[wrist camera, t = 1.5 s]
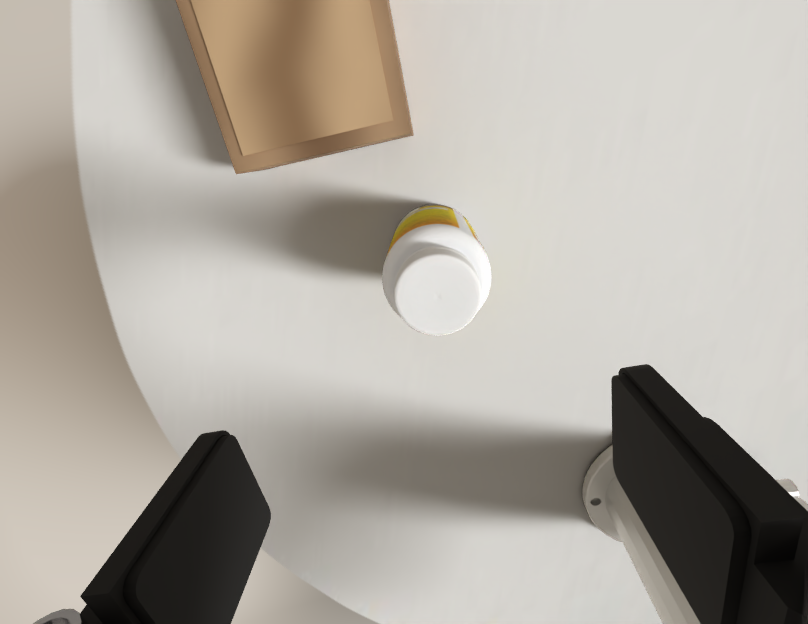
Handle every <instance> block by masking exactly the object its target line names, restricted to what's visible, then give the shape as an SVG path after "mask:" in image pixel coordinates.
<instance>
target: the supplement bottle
mask: <svg viewBox="0 0 808 624" xmlns="http://www.w3.org/2000/svg"><path fill="white" fill-rule="evenodd" d="M382 283H383V289H384V293H385V296H386V298H387V300H388V302H389V304H390V306H391V307H392V308H393V310H394V311H395V312H396V313H397V314H398V315H399V316H400V317H401V318H402V319H403V320H404V321H405V323H407V324H408V325H409V326H410V327H411V328H413V329H414V330H416V331H418V332H421V333H423V334H427V335H434V336H441V335H447V334H451V333H454V332H456V331H458V330H460V329H462V328H463V327H465V326H466V325H467V324H468V323H469V322H470V321H471V320H472V319H473V318H474V316H475V315H476V313H477V312H478V311H479V309H480V308H481V307H482V305H483V304H484V302H485V300H486V299H487V297H488V294H489V290H490V286H491V266H490V262H489V259H488V256H487V254H486V252H485V250H484V248H483V246H482V244H481V243H480V241H479V239H478V237H477V235H476V234H475V232H474V230H473V228H472V227H471V225H470V223H469V222H468V221H467V219H466V218H465V217H464V216H463V215H462V214H461V213H459V212H458V211H456V210H455V209H453V208H450V207H448V206H444V205H438V204H432V205H425V206H421V207H419V208H416V209H414V210H413V211H411V212H410V213H408V214H407V215H406V216H405V217H404V218H403V219H402V220H401V222H400V223H399V225H398V226H397V228H396V230H395V233H394V236H393V239H392V242H391V244H390V247H389V250H388V253H387V256H386V259H385V262H384V267H383V274H382Z"/></svg>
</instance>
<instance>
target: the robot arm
mask: <svg viewBox="0 0 808 624" xmlns="http://www.w3.org/2000/svg"><path fill="white" fill-rule="evenodd" d="M612 442H613V445H611V446H610V447H608V448H607V449H606V450H605V451H604V452H603V453H601V454H600V455H599V456H598V457H597V459H596V460H595V461H594V462H593V464H592V465H591V466H590V468H589V470H588V472H587V474H586V476H585V479H584V483H583V487H582V497H583V501H584V505H585V508H586V510H587V512H588V514H589V516H590V519H591V520H592V521H593V523H594V524H595V525H596V527H597V528H598V529H600V530H601V531H602V532H603V533H604V534H606V535H607V536H609V537H611V538H613V539H615V540H617V541H620V542H623V544H624V546H625V548H626V550H627V552H628V554H629V556H630V558H631V560H632V562H633V564H634V566H635V568H636V570H637V572H638V574H639V576H640V578H641V580H642V582H643V584H644V586H645V589H646V591H647V593H648V595H649V597H650V599H651V601H652V603H653V605H654V607H655V609H656V611H657V613H658V615H659V617H660V619H661V621H662V623H663V624H808V504H807V503H806V502H805V501H804V500H802V499H801V498H798V497H799V491H798V489H797V486H796V485H795V484H794V483H793V481H791V480H789V479H780V480H775V479H774V478H773V477H772V476H771V475H770V474H769V473H768V472H767V471H766V470H764V469H763V468H762V467H761V466H760V465H759V464H758V463H757V462H756V461H755V460H754V459H753V458H752V457H751V456H750V455H749V454H748V453H747V452H746V451H745V450H744V449H743V448H742V447H741V446H740V445H739V444H737V443H736V442H735V441H734V440H733V439H732V438H731V437H730V436H729V435H728V434H727V433H726V432H725V431H724V430H723V429H722V428H721V427H720V426H719V425H718V424H717V423H715V422H714V421H713V420H711V419H709V418H706V417H702V416H701V415H700V414H699V413H698V412H697V411H696V410H695V409H694V408H693V407H692V406H691V405H690V404H689V403H688V402H687V401H686V400H685V399H684V398H683V397H682V396H681V395H680V394H679V393H678V392H677V391H676V390H675V389H674V388H673V387H672V386H671V385H670V384H669V383H668V382H667V381H666V380H665V379H664V378H663V377H662V376H661V375H660V374H659V373H658V372H657V371H656V370H655V369H654V368H653V367H651V366H650V365H647V364H645V365H639V366H632V367H626V368H621V369H620V371H619V375H616V376H613V377H612ZM270 519H271V513H270V509H269V506H268V504H267V502H266V500H265V498H264V496H263V493H262V491H261V489H260V487H259V485H258V483H257V481H256V479H255V477H254V475H253V472H252V470H251V468H250V466H249V464H248V462H247V460H246V458H245V456H244V454H243V451H242V449H241V447H240V445H239V443H238V441H237V439H236V437H235V436H233V435H230V434H229V433H228V432H227V431H216V432H210V433H204V434H201V435H200V436H199V437H198V438H197V440H196V441H195V442H194V444H193V445H192V446H191V448H190V449H189V450H188V452H187V453H186V454H185V456H184V457H183V458H182V460H181V461H180V463H179V464H178V465H177V467H176V468H175V469H174V471H173V472H172V473H171V475H170V476H169V477H168V479H167V480H166V481H165V483H164V484H163V486H162V487H161V488H160V489H159V491H158V492H157V494H156V495H155V496H154V498H153V499H152V500H151V502H150V503H149V504H148V506H147V507H146V509H145V510H144V511H143V513H142V514H141V515H140V516H139V518H138V519H137V521H136V522H135V523H134V525H133V526H132V528H131V529H130V530H129V532H128V533H127V534H126V535H125V537H124V538H123V540H122V541H121V542H120V544H119V545H118V546H117V547H116V549H115V550H114V552H113V553H112V554H111V556H110V557H109V558H108V560H107V561H106V563H105V564H104V565H103V566H102V568H101V569H100V571H99V572H98V573H97V575H96V576H95V577H94V579H93V580H92V581H91V583H90V584H89V585H88V587H87V588H86V589H85V591H84V592H83V593H82V595H81V598H82V599H83V600H84V601H85V602H86V604H87V605H86V606H85V608H84V609H83V611H82V612H81V613H79V612H77V611H76V610H74V609H62V610H59V611H56V612H53V613H51V614H49V615H47V616H45V617H43V618H41V619H39V620H38V621H36V622H35V623H34V624H231V621H232V619H233V616H234V614H235V611H236V609H237V606H238V603H239V601H240V598H241V596H242V593H243V591H244V588H245V585H246V583H247V580H248V578H249V575H250V573H251V570H252V568H253V565H254V562H255V560H256V557H257V555H258V552H259V550H260V547H261V545H262V542H263V539H264V537H265V534H266V532H267V529H268V527H269V524H270Z"/></svg>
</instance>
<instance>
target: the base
mask: <svg viewBox="0 0 808 624" xmlns="http://www.w3.org/2000/svg"><path fill="white" fill-rule="evenodd" d="M176 3H177V6H178V8H179V11H180V14H181V17H182V20H183V23H184V26H185V29H186V31H187V34H188V37H189V40H190V43H191V46H192V49H193V52H194V55H195V57H196V60H197V63H198V66H199V69H200V72H201V75H202V78H203V80H204V83H205V86H206V89H207V92H208V95H209V98H210V101H211V103H212V106H213V109H214V112H215V115H216V118H217V121H218V124H219V126H220V129H221V132H222V135H223V138H224V141H225V144H226V147H227V150H228V152H229V155H230V158H231V161H232V164H233V167H234V170H235V173H236V174H240V173H247V172H253V171H260V170H265V169H270V168H274V167H278V166H283V165H287V164H291V163H296V162H300V161H304V160H309V159H313V158H317V157H322V156H326V155H330V154H335V153H339V152H343V151H348V150H352V149H356V148H361V147H365V146H369V145H374V144H378V143H382V142H387V141H391V140H395V139H400V138H404V137H408V136H413V135H414V134H413V129H412V124H411V118H410V113H409V107H408V102H407V96H406V91H405V86H404V80H403V75H402V69H401V64H400V58H399V53H398V48H397V42H396V37H395V31H394V26H393V20H392V15H391V10H390V4H389V0H176Z"/></svg>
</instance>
